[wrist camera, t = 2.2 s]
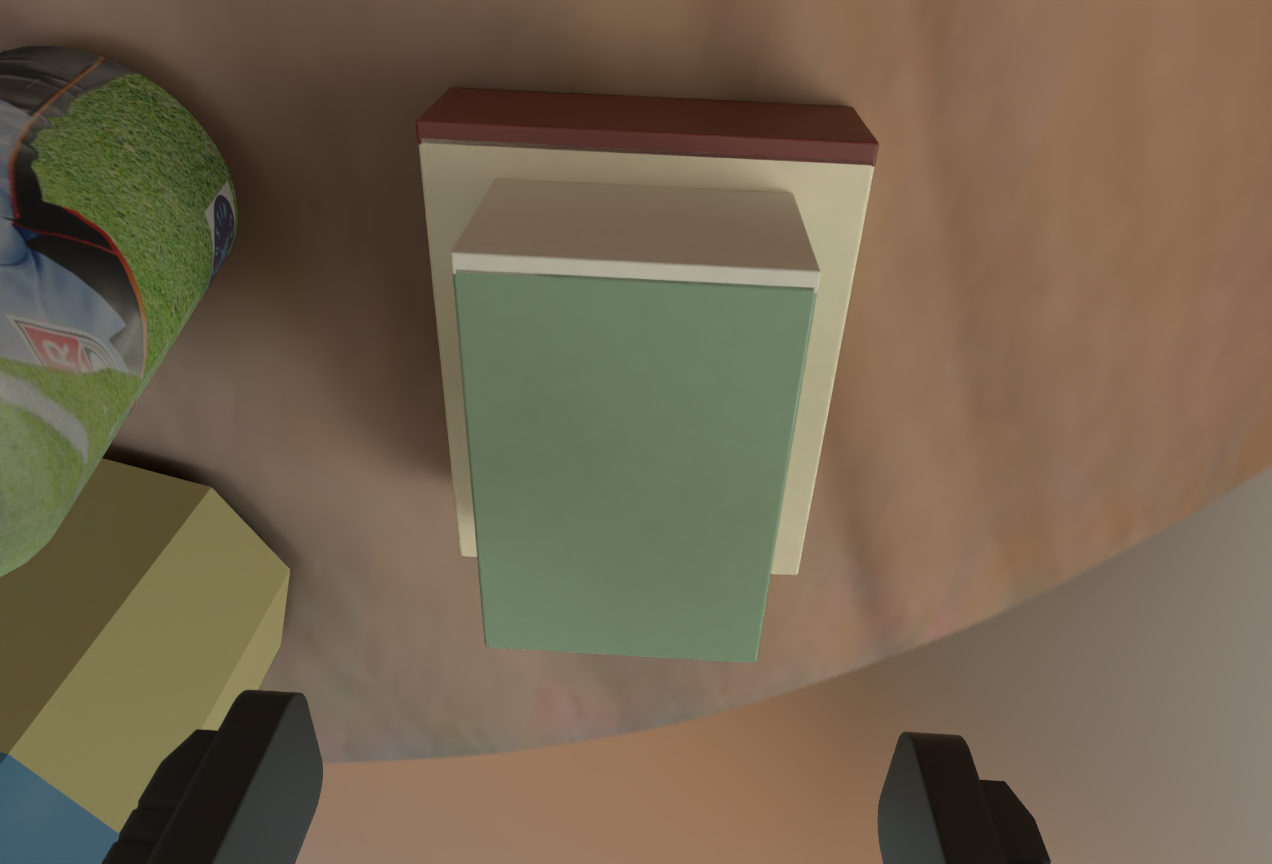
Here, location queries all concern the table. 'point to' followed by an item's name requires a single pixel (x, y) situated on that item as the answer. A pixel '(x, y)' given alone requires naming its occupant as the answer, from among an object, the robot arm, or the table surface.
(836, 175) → the bottom book
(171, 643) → the yellow blue block
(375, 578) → the table surface
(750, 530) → the top book
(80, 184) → the beverage can
